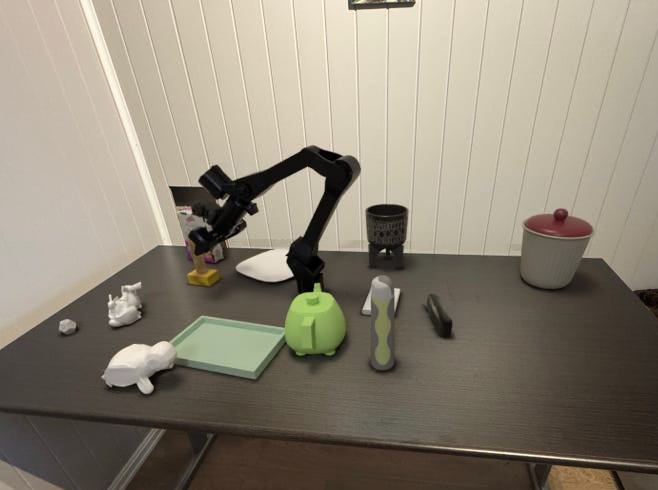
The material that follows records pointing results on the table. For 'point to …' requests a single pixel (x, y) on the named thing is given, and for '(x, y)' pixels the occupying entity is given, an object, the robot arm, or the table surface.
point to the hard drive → (367, 304)
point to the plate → (267, 266)
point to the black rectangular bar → (439, 315)
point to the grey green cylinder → (382, 323)
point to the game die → (67, 326)
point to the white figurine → (125, 306)
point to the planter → (386, 231)
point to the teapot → (314, 323)
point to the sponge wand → (201, 270)
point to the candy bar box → (191, 222)
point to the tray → (228, 346)
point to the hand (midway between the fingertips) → (206, 248)
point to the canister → (553, 248)
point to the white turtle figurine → (139, 365)
